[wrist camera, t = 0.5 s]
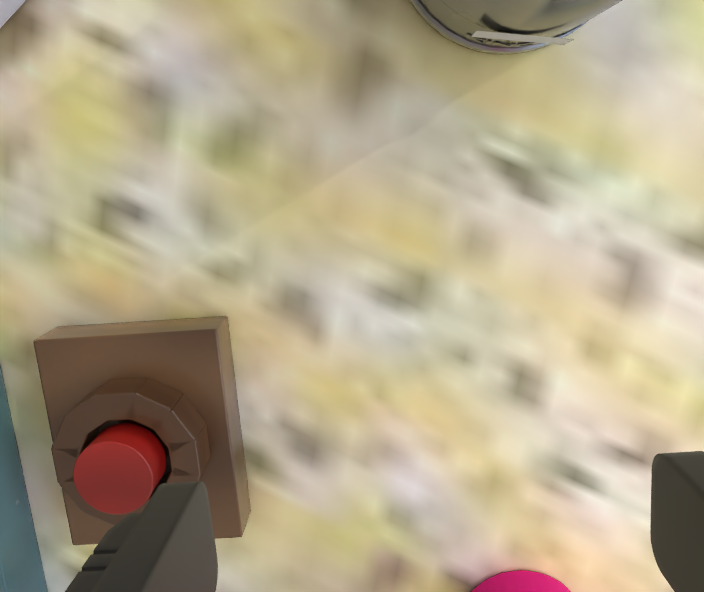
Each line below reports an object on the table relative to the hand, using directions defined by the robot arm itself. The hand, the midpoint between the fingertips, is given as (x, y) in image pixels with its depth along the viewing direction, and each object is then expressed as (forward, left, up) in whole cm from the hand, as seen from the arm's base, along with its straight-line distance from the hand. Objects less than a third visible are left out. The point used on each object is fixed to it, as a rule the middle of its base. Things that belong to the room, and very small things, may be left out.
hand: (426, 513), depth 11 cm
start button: (+6, -12, -14) cm, 19 cm away
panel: (+6, -12, -18) cm, 22 cm away
